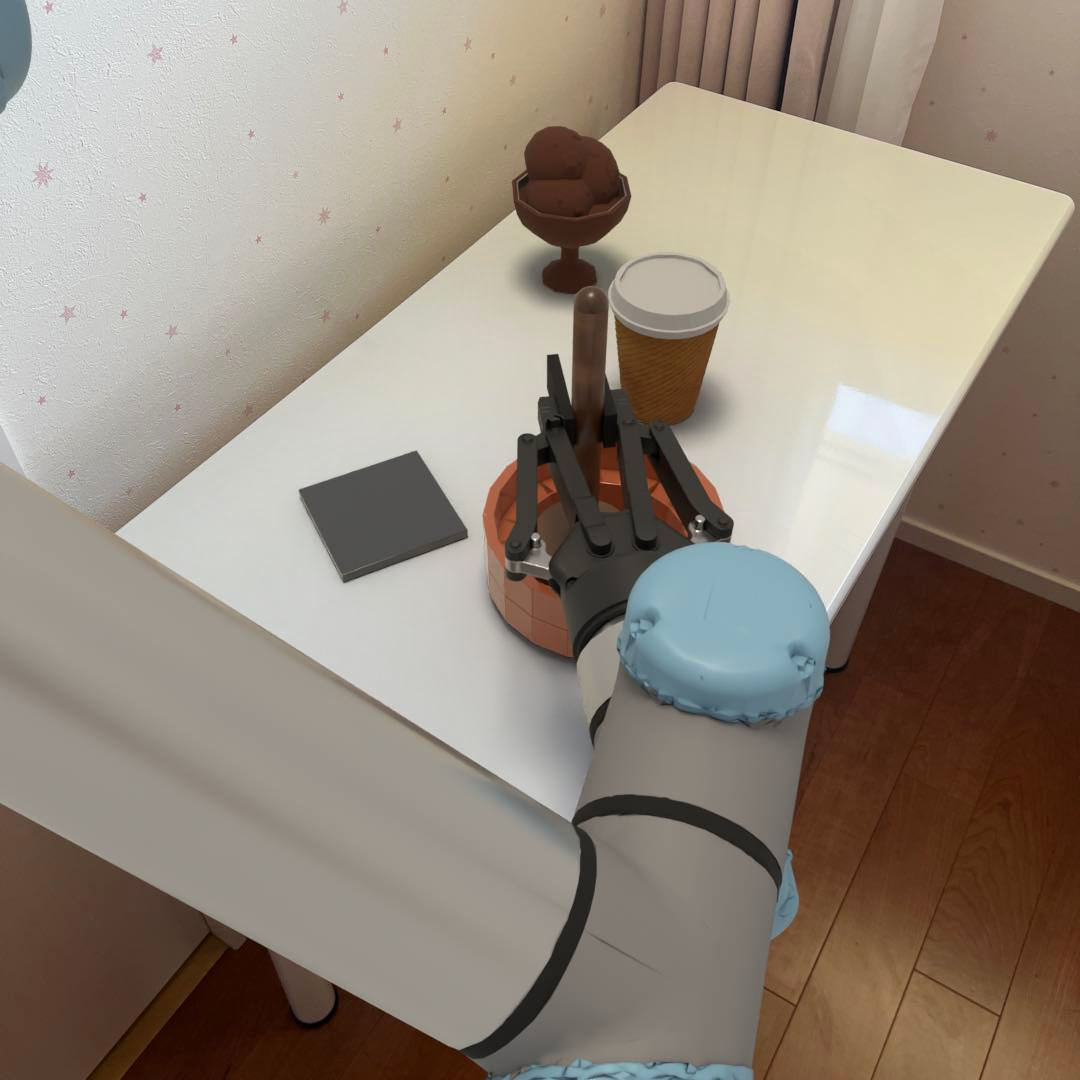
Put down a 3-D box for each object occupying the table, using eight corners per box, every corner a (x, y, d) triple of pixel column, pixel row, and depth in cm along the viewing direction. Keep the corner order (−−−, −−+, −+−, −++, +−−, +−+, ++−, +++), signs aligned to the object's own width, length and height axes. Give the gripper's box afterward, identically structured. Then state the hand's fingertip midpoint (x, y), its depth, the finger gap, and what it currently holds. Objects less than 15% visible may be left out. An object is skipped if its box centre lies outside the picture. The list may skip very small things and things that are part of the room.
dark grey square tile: (343, 582, 80) (342, 575, 80) (299, 496, 87) (297, 489, 86) (468, 536, 84) (467, 529, 83) (417, 457, 90) (416, 449, 89)
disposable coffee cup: (720, 439, 91) (739, 318, 82) (604, 439, 91) (611, 318, 82) (708, 367, 97) (724, 248, 89) (600, 367, 98) (606, 248, 89)
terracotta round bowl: (552, 703, 73) (552, 643, 68) (451, 540, 83) (445, 477, 79) (759, 614, 78) (773, 553, 74) (640, 471, 88) (646, 408, 84)
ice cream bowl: (565, 324, 102) (567, 174, 91) (491, 272, 108) (484, 125, 97) (648, 282, 106) (660, 134, 95) (573, 234, 112) (576, 89, 101)
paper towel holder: (561, 613, 76) (566, 339, 59) (515, 546, 80) (508, 273, 63) (649, 577, 78) (678, 304, 61) (600, 514, 82) (614, 242, 65)
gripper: (503, 708, 59) (462, 422, 75) (775, 675, 61) (678, 402, 77) (499, 620, 54) (456, 332, 70) (798, 587, 55) (688, 311, 71)
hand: (572, 369), depth 73 cm, fingers closed on paper towel holder, 2 cm apart
